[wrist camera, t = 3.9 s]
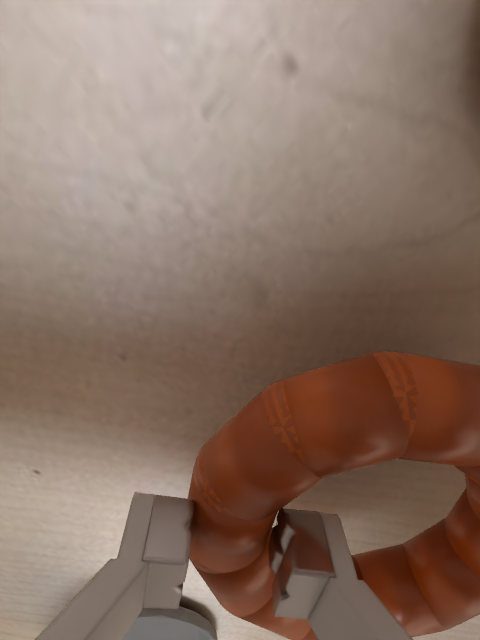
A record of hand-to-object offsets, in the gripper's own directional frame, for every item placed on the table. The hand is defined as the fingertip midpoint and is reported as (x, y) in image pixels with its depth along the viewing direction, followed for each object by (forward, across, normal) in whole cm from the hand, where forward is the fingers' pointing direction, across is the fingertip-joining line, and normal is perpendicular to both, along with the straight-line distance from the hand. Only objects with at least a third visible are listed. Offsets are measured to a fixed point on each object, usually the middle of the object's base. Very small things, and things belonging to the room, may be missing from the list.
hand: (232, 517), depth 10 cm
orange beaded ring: (0, -4, 0) cm, 4 cm away
